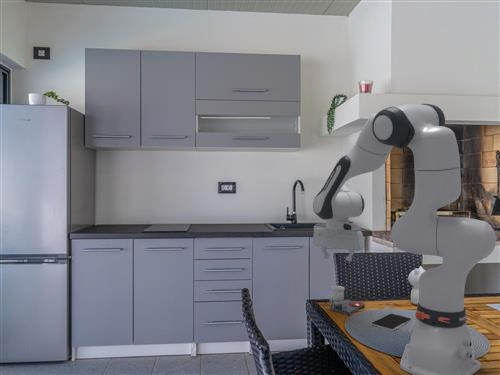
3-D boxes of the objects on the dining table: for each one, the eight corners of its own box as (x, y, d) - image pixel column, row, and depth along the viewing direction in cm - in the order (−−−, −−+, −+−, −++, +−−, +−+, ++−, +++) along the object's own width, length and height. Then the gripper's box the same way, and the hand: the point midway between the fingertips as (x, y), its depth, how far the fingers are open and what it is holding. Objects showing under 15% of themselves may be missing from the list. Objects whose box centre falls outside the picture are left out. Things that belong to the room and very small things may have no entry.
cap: (340, 302, 138) (340, 290, 138) (328, 299, 141) (328, 287, 141) (347, 298, 142) (347, 286, 142) (335, 296, 146) (335, 284, 146)
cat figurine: (412, 299, 154) (411, 264, 154) (445, 305, 146) (444, 267, 146) (405, 304, 147) (404, 267, 148) (438, 311, 139) (437, 271, 139)
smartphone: (412, 318, 130) (393, 329, 119) (412, 322, 130) (393, 333, 119) (390, 313, 135) (370, 322, 125) (390, 316, 135) (370, 326, 125)
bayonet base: (351, 315, 135) (351, 304, 135) (326, 309, 142) (326, 299, 142) (367, 306, 145) (367, 296, 145) (343, 301, 152) (343, 291, 152)
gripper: (309, 223, 146) (310, 257, 146) (358, 226, 133) (358, 264, 133) (317, 222, 151) (318, 255, 151) (365, 225, 137) (365, 261, 137)
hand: (337, 259), depth 142 cm, fingers open, 8 cm apart
